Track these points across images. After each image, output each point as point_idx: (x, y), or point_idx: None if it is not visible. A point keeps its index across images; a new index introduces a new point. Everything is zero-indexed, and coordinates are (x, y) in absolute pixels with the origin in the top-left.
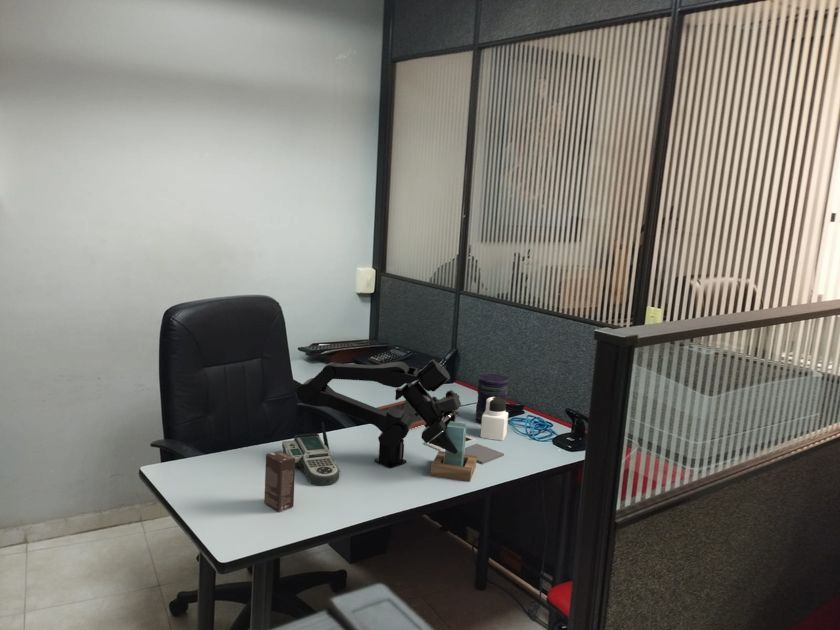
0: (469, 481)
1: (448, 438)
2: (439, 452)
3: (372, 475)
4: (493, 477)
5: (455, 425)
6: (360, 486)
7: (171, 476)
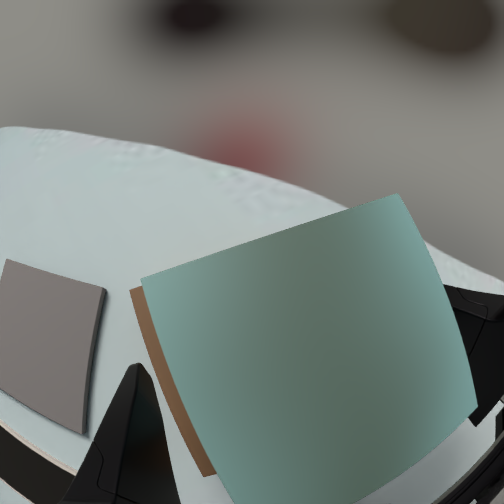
0: None
1: (484, 296)
2: None
3: (448, 482)
4: (202, 197)
5: (392, 366)
6: None
7: None
